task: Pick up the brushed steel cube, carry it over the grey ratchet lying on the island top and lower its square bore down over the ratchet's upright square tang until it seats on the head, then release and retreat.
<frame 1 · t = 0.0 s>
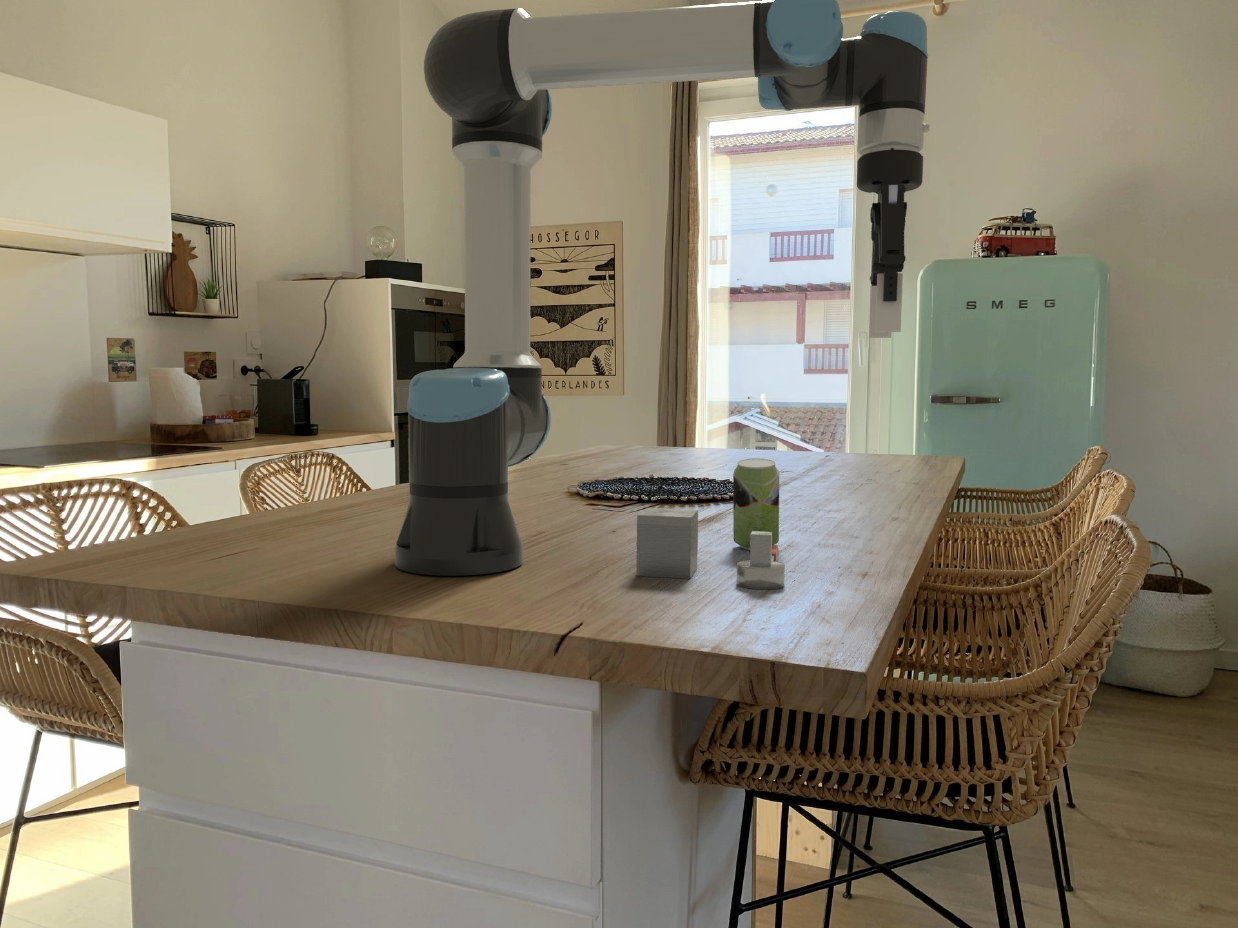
hand: (883, 335, 112), 28 cm above the countertop, fingers open, 13 cm apart
beverage can: (755, 550, 124), on the countertop
ratchet: (760, 584, 102), on the countertop
brushed steel cube: (667, 571, 108), on the countertop
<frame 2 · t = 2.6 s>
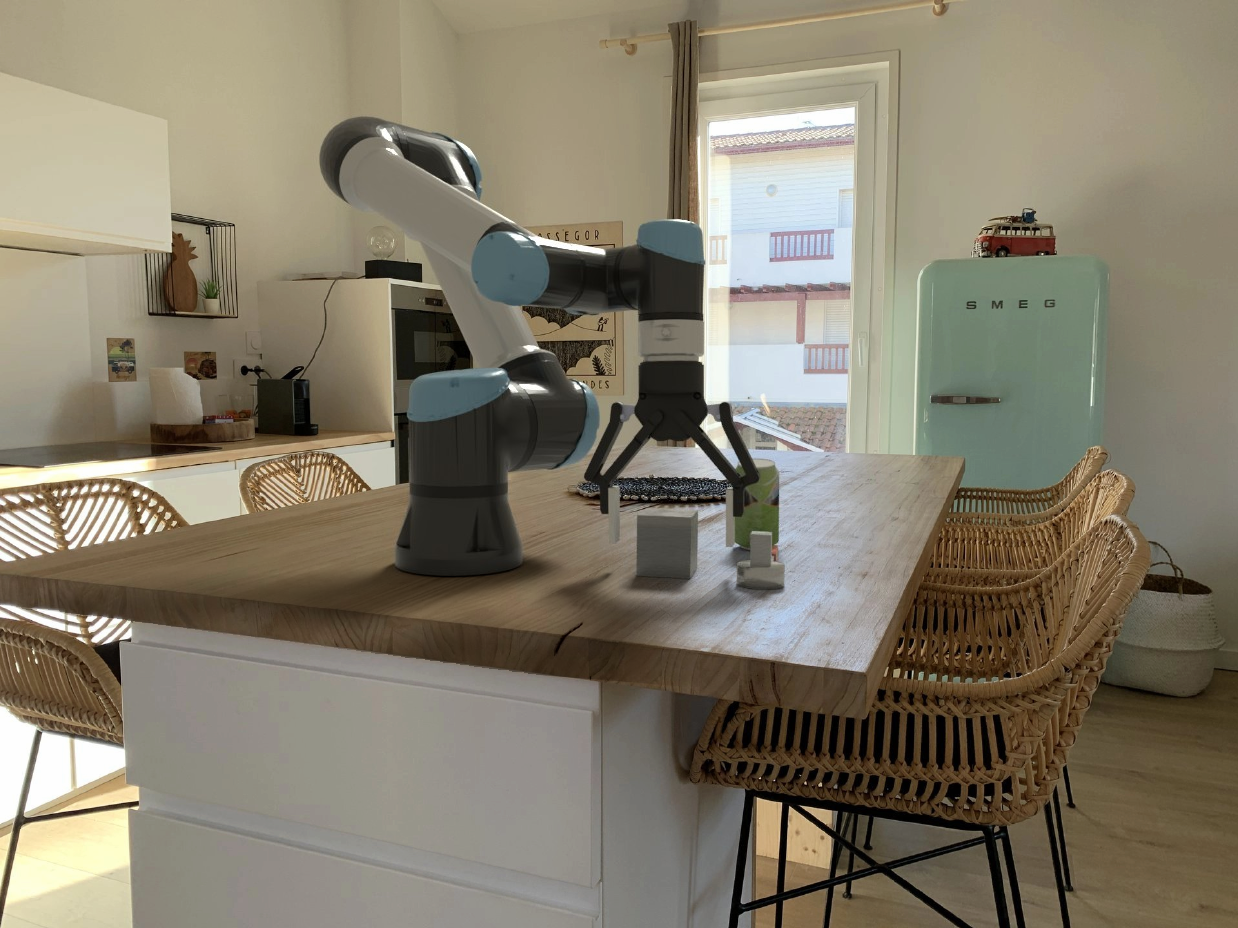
hand: (671, 543, 108), 3 cm above the countertop, fingers open, 13 cm apart
nothing on the countertop moved.
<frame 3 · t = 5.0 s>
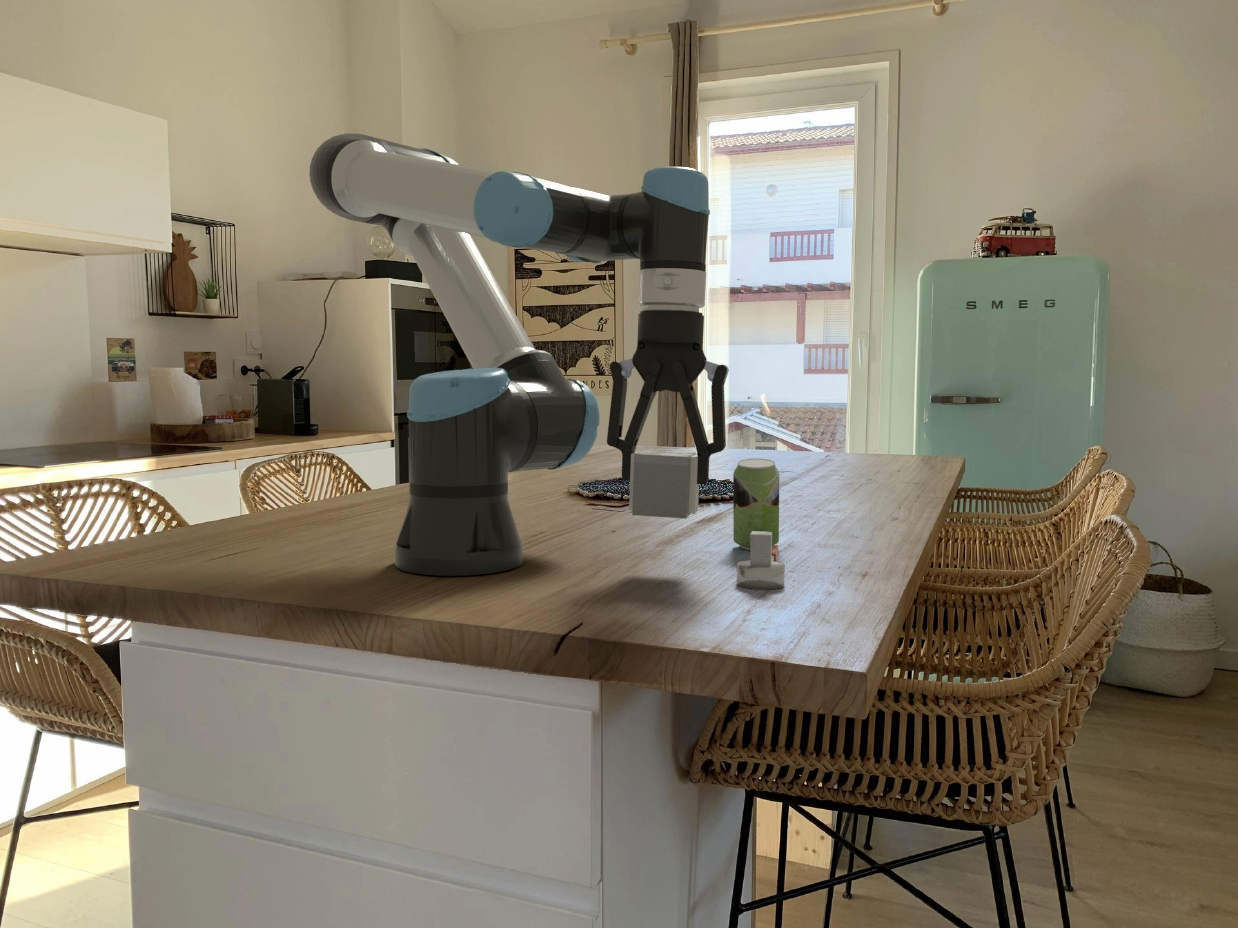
hand: (663, 509, 108), 7 cm above the countertop, fingers closed on brushed steel cube, 6 cm apart
brushed steel cube: (663, 512, 108), point 7 cm above the countertop, touching gripper
everything else where it was.
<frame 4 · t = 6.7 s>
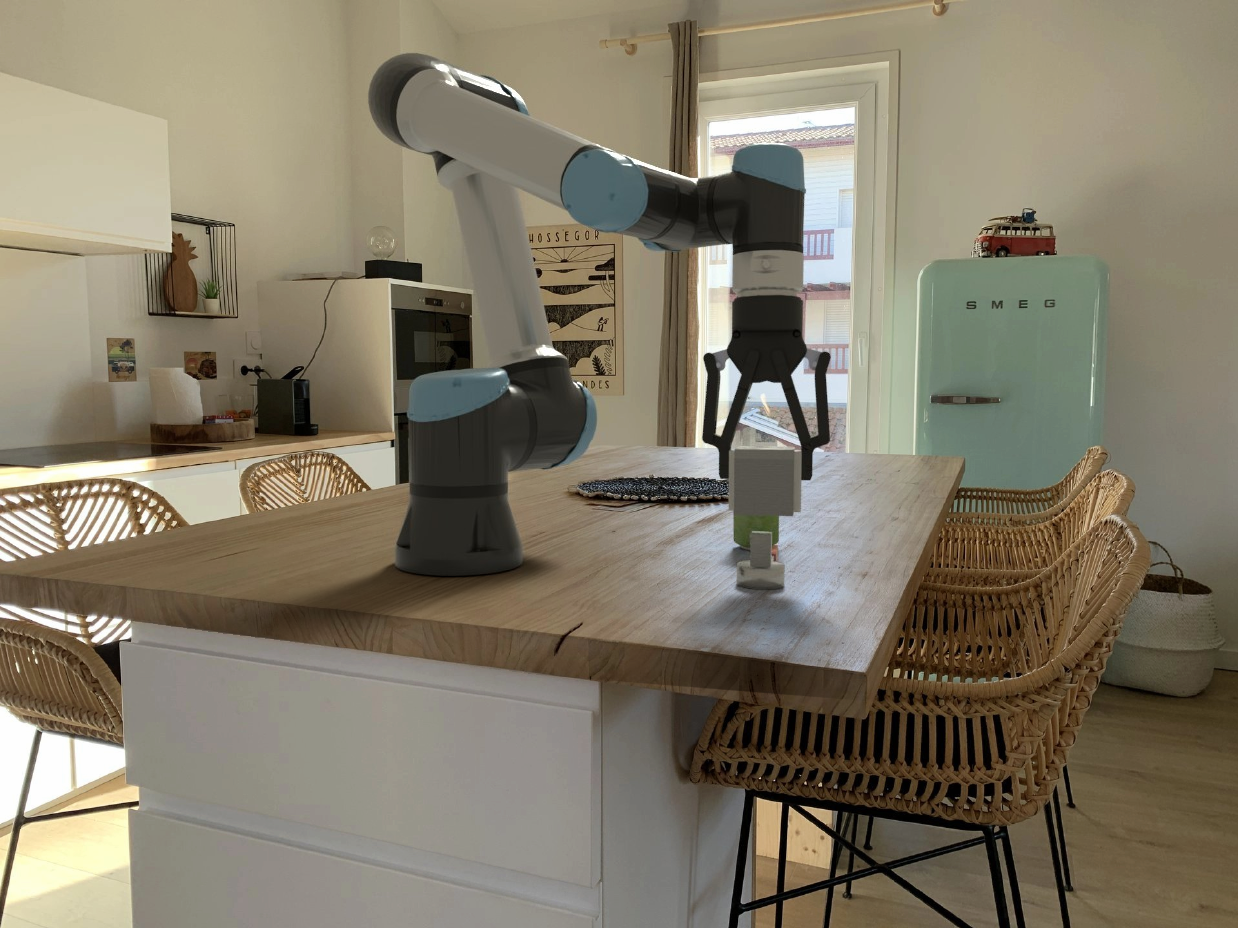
hand: (764, 509, 101), 8 cm above the countertop, fingers closed on brushed steel cube, 6 cm apart
brushed steel cube: (765, 511, 101), point 8 cm above the countertop, touching gripper
everything else where it was.
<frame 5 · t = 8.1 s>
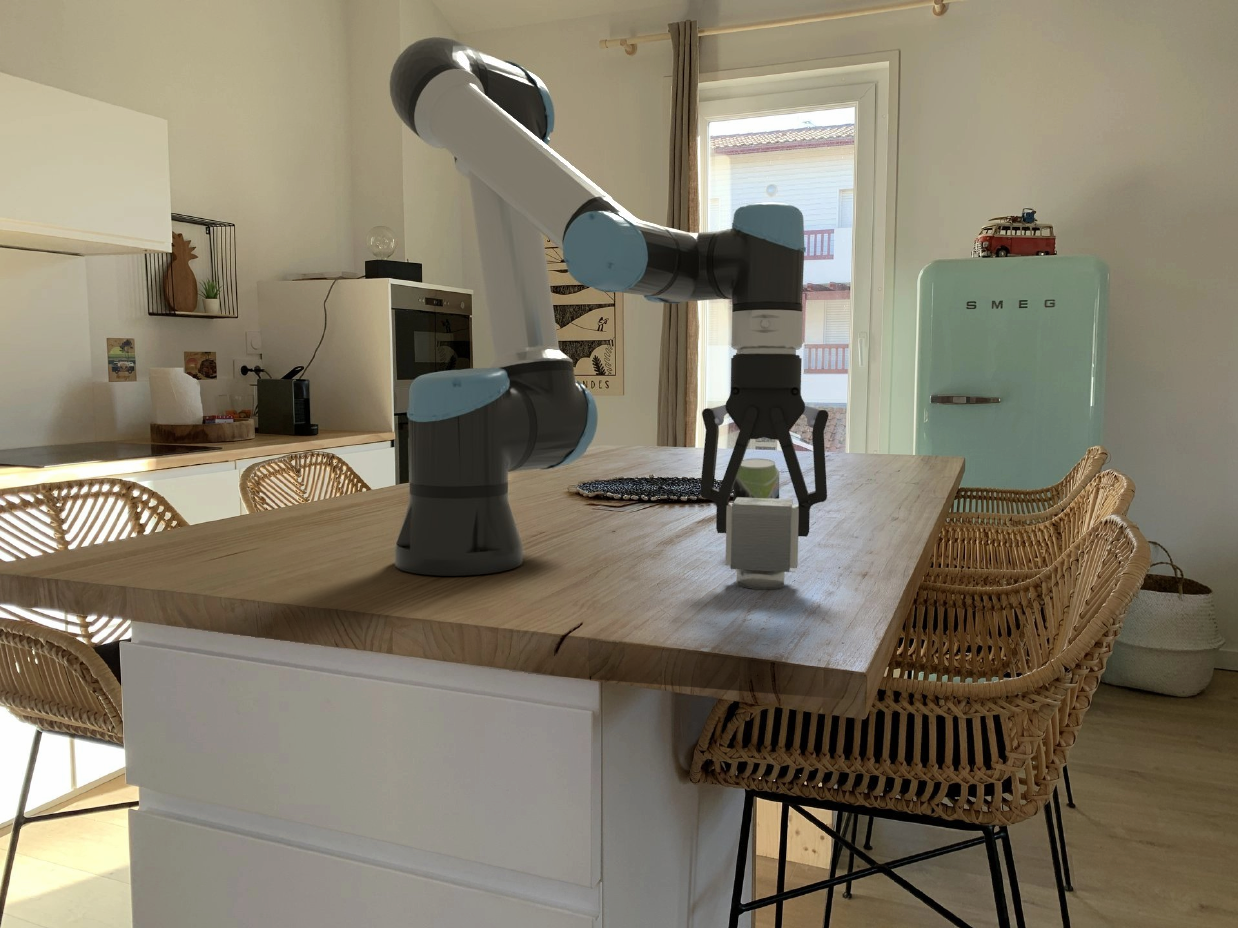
hand: (761, 563, 102), 2 cm above the countertop, fingers closed on brushed steel cube, 6 cm apart
brushed steel cube: (761, 564, 102), point 2 cm above the countertop, touching gripper, ratchet
everything else where it was.
when the fingers open (2 cm above the countertop, at t = 8.5 s): brushed steel cube stays where it is, resting on ratchet.
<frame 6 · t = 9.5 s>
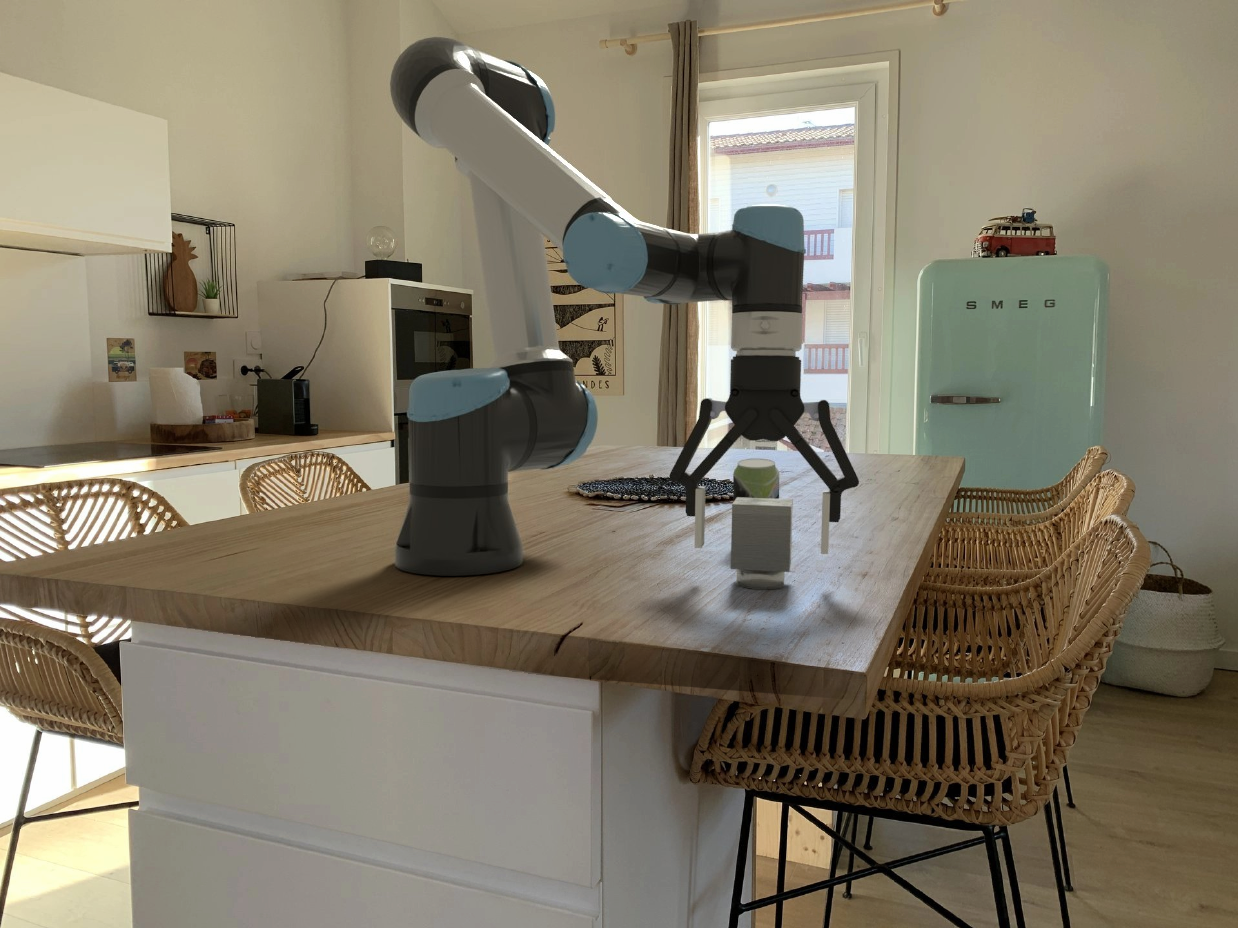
hand: (761, 549, 102), 4 cm above the countertop, fingers open, 13 cm apart
brushed steel cube: (761, 564, 102), point 2 cm above the countertop, touching ratchet
everything else where it was.
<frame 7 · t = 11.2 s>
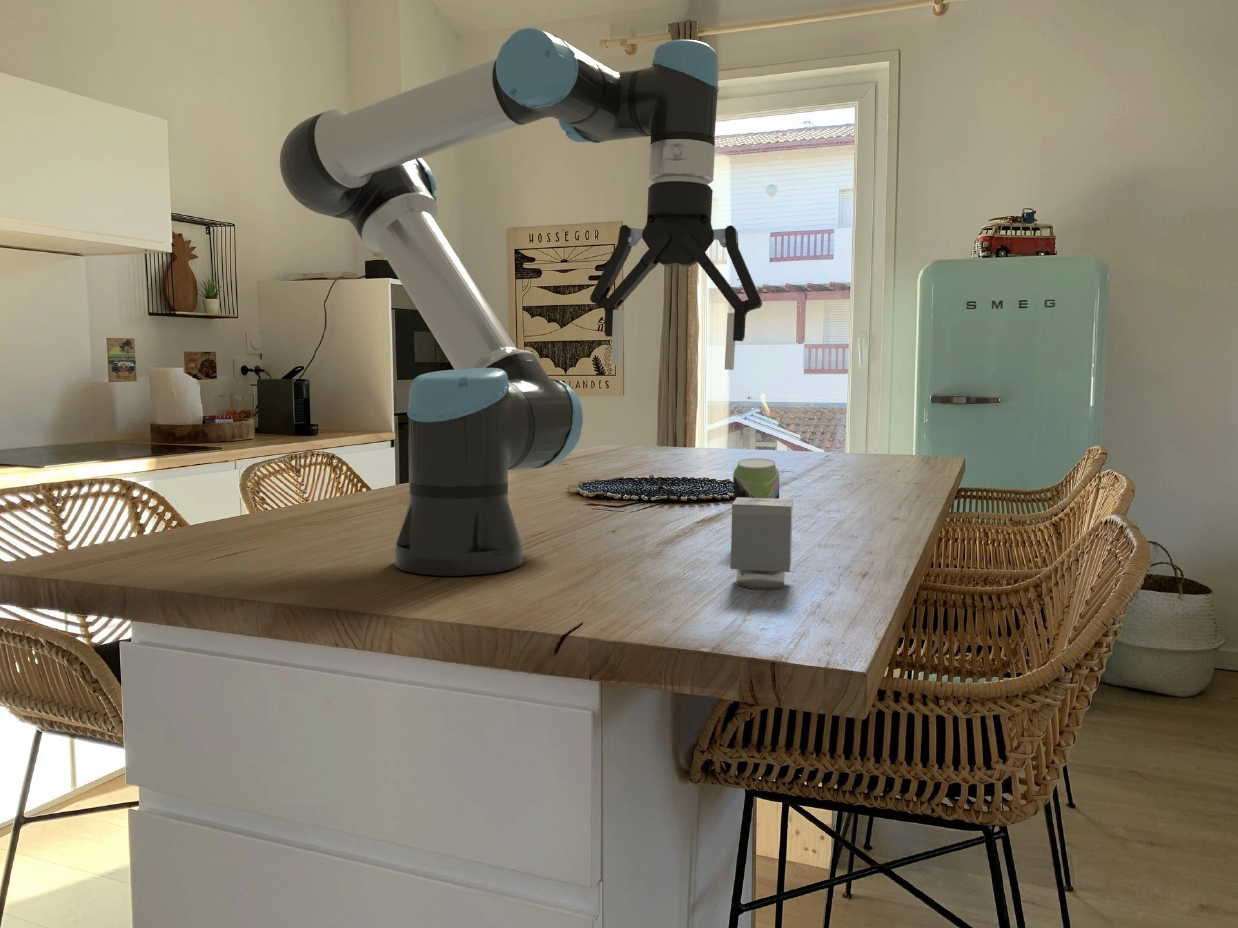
hand: (672, 367, 110), 24 cm above the countertop, fingers open, 13 cm apart
nothing on the countertop moved.
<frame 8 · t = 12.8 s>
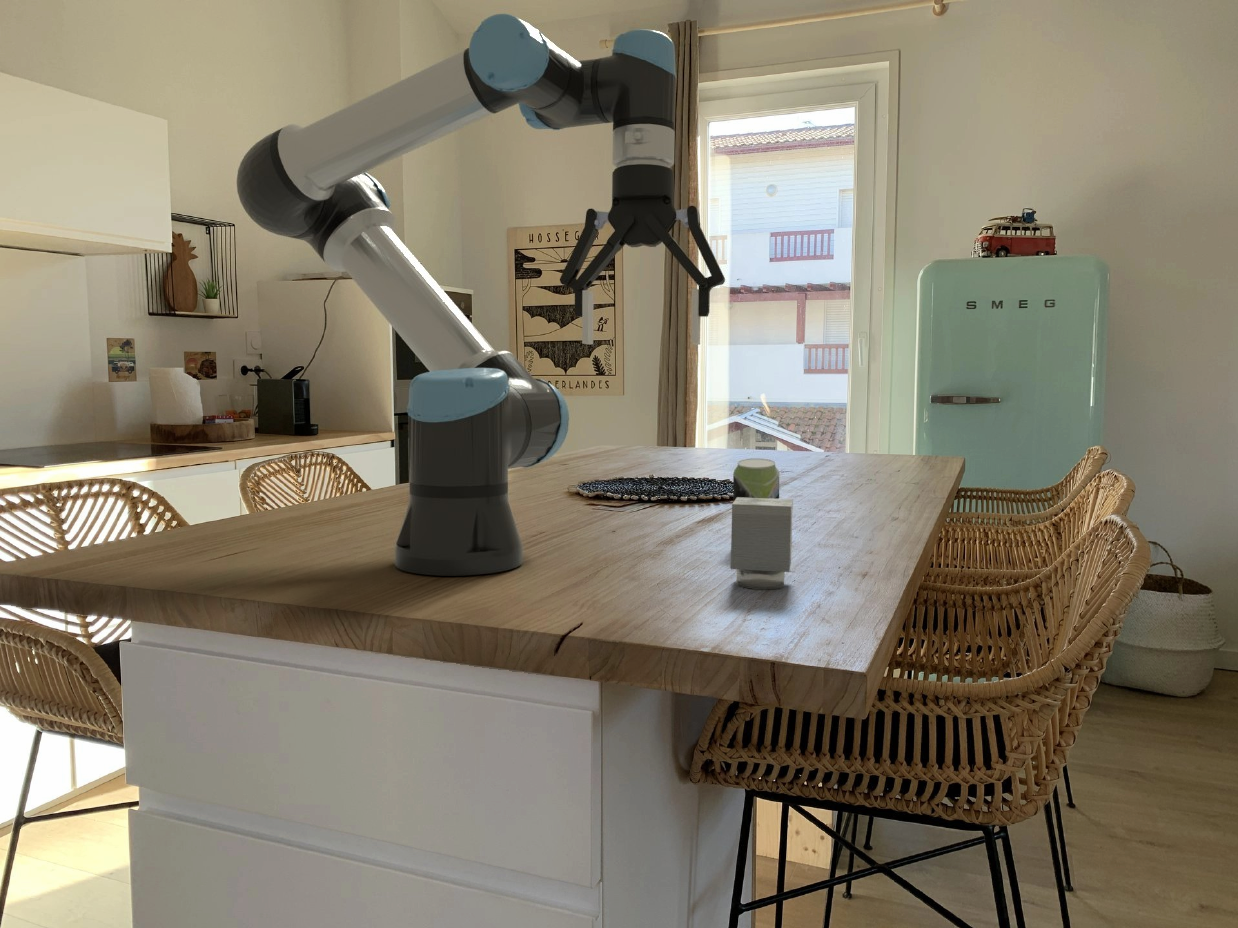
hand: (641, 344, 115), 27 cm above the countertop, fingers open, 13 cm apart
nothing on the countertop moved.
at the end: brushed steel cube 0.1 cm off-centre on the ratchet, point 2.2 cm above the ratchet's base; brushed steel cube tilted 0°; the gripper is holding nothing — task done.
